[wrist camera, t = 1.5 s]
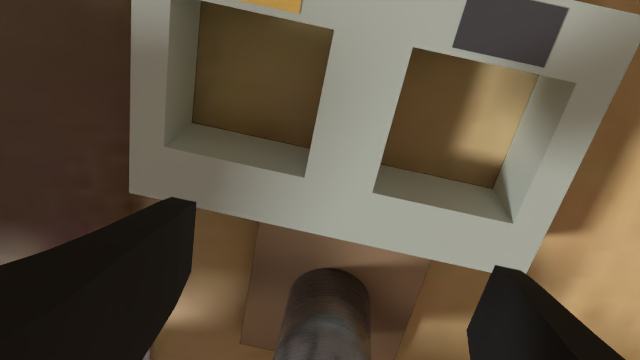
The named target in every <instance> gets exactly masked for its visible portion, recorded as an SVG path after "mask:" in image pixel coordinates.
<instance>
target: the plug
mask: <svg viewBox="0 0 640 360" xmlns="http://www.w3.org/2000/svg"><path fill="white" fill-rule="evenodd" d="M273 360H371V311H370V296H369V293H368V291H367V289H366V287H365V286H364V284H363V283H362V282H361V281H360V280H359V279H358V278H356V277H355V276H354V275H352V274H350V273H348V272H346V271H343V270H339V269H335V268H319V269H314V270H311V271H308V272H306V273H304V274H303V275H301V276H300V277H299V278H298V279H297V280H296V281H295V282H294V283H293V285H292V287H291V289H290V292H289V296H288V300H287V304H286V308H285V313H284V317H283V321H282V325H281V329H280V333H279V337H278V342H277V346H276V350H275V354H274V358H273Z"/></svg>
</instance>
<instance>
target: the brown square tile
mask: <svg viewBox="0 0 640 360" xmlns="http://www.w3.org/2000/svg"><path fill="white" fill-rule="evenodd" d="M430 262H431V259H426V258H422V257H417V256H413V255H408V254H404V253H399V252H395V251H390V250H386V249H381V248H376V247H372V246H367V245H363V244H358V243H354V242H349V241H345V240H340V239H336V238H331V237H327V236H322V235H318V234H313V233H309V232H304V231H299V230H295V229H290V228H286V227H281V226H277V225H272V224H268V223H263V222H259V227H258V233H257V239H256V245H255V252H254V258H253V264H252V270H251V277H250V283H249V289H248V295H247V301H246V308H245V314H244V320H243V326H242V332H241V339H240V344H244V345H249V346H253V347H258V348H262V349H267V350H271V351H275V350H276V346H277V342H278V337H279V333H280V329H281V325H282V321H283V317H284V313H285V308H286V304H287V300H288V296H289V292H290V289H291V287H292V285H293V283H294V282H295V281H296V280H297V279H298V278H299V277H300V276H301V275H303V274H304V273H306V272H308V271H311V270H314V269H319V268H335V269H339V270H343V271H346V272H348V273H350V274H352V275H354V276H355V277H356V278H358V279H359V280H360V281H361V282H362V283H363V284H364V286H365V287H366V289H367V291H368V293H369V296H370V311H371V360H394V359H395V356H396V353H397V351H398V348H399V345H400V343H401V340H402V337H403V335H404V332H405V329H406V327H407V324H408V321H409V318H410V316H411V313H412V310H413V308H414V305H415V302H416V300H417V297H418V294H419V292H420V289H421V286H422V284H423V281H424V278H425V276H426V273H427V270H428V267H429V265H430Z"/></svg>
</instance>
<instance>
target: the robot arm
mask: <svg viewBox="0 0 640 360" xmlns="http://www.w3.org/2000/svg"><path fill="white" fill-rule="evenodd" d="M196 203H197V202H194V201H190V200H185V199H180V198H175V197H169V198H167V199H164V200H162V201H160V202H157V203H155V204H153V205H151V206H149V207H147V208H145V209H142V210H140V211H138V212H136V213H134V214H132V215H130V216H128V217H125V218H123V219H121V220H119V221H117V222H115V223H112V224H110V225H108V226H106V227H104V228H101V229H99V230H96V231H94V232H92V233H89V234H87V235H84V236H82V237H79V238H77V239H74V240H72V241H70V242H67V243H65V244H62V245H60V246H57V247H54V248H52V249H49V250H46V251H43V252H40V253H38V254H35V255H32V256H29V257H25V258H22V259H19V260H16V261H13V262H10V263H7V264H3V265H0V360H150V347H151V345H152V344H153V342H154V341H155V339H156V337H157V336H158V334H159V333H160V331H161V329H162V328H163V326H164V324H165V323H166V321H167V320H168V318H169V316H170V315H171V313H172V311H173V310H174V308H175V306H176V304H177V302H178V300H179V298H180V295H181V293H182V291H183V289H184V287H185V284H186V282H187V280H188V277H189V275H190V273H191V266H192V253H193V241H194V228H195V216H196ZM467 336H468V345H469V353H470V360H625V359H624V358H623V357H622V356H620V355H619V354H618V353H617V352H616V351H614V350H613V349H612V348H611V347H610V346H608V345H607V344H606V343H605V342H604V341H602V340H601V339H600V338H599V337H598V336H597V335H595V334H594V333H593V332H592V331H591V330H590V329H589V328H587V327H586V326H585V325H584V324H583V323H582V322H581V321H579V320H578V319H577V318H576V317H575V316H574V315H573V314H572V313H570V312H569V311H568V310H567V309H566V308H565V307H564V306H563V305H562V304H560V303H559V302H558V301H557V300H556V299H555V298H554V297H553V296H551V295H550V294H549V293H548V292H547V291H546V290H545V289H543V288H542V287H541V286H540V285H539V284H538V283H536V282H535V281H534V280H533V279H532V278H530V277H529V276H528V275H526V274H525V273H524V272H522V271H521V270H517V269H512V268H507V267H503V266H498V265H495V266H494V269H493V271H492V273H491V275H490V278H489V280H488V282H487V285H486V287H485V289H484V292H483V294H482V296H481V298H480V301H479V303H478V305H477V308H476V310H475V312H474V314H473V317H472V319H471V321H470V324H469V326H468V328H467Z"/></svg>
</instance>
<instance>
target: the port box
mask: <svg viewBox="0 0 640 360" xmlns="http://www.w3.org/2000/svg"><path fill="white" fill-rule="evenodd" d="M201 1H206V2H210V3H215V4H219V5H224V6H229V7H233V8H238V9H242V10H247V11H251V12H256V13H260V14H265V15H269V16H274V17H279V18H283V19H288V20H292V21H297V22H301V23H306V24H310V25H315V26H319V27H324V28H329V29H333V30H334V34H333V39H332V44H331V49H330V53H329V58H328V63H327V68H326V73H325V78H324V83H323V88H322V93H321V98H320V103H319V108H318V113H317V118H316V123H315V128H314V133H313V138H312V143H311V147H310V149H309V148H304V147H299V146H295V145H290V144H286V143H281V142H277V141H272V140H268V139H263V138H259V137H254V136H250V135H245V134H240V133H236V132H231V131H227V130H222V129H218V128H213V127H209V126H204V125H200V124H195V123H192V114H193V101H194V88H195V74H196V61H197V48H198V35H199V22H200V9H201ZM639 44H640V15H639V14H634V13H629V12H625V11H620V10H616V9H611V8H607V7H602V6H598V5H593V4H589V3H584V2H579V1H575V0H131V74H130V152H129V193H132V194H136V195H141V196H145V197H150V198H154V199H159V200H164V199H167V198H169V197H175V198H180V199H185V200H190V201H194V202H197V203H196V208H200V209H204V210H209V211H213V212H218V213H222V214H227V215H231V216H236V217H241V218H245V219H250V220H254V221H259V222H263V223H268V224H272V225H277V226H281V227H286V228H290V229H295V230H299V231H304V232H309V233H313V234H318V235H322V236H327V237H331V238H336V239H340V240H345V241H349V242H354V243H358V244H363V245H367V246H372V247H376V248H381V249H386V250H390V251H395V252H399V253H404V254H408V255H413V256H417V257H422V258H426V259H431V260H435V261H440V262H444V263H449V264H454V265H458V266H463V267H467V268H472V269H476V270H481V271H485V272H490V273H492V271H493V269H494V266H495V265H498V266H503V267H507V268H512V269H517V270H521V271H522V272H524V273H525V274H526V273H527V271H528V269H529V267H530V265H531V263H532V261H533V259H534V257H535V255H536V253H537V251H538V249H539V247H540V245H541V243H542V241H543V239H544V237H545V235H546V233H547V231H548V229H549V227H550V225H551V223H552V221H553V219H554V217H555V215H556V213H557V211H558V209H559V207H560V204H561V202H562V200H563V198H564V196H565V194H566V192H567V190H568V188H569V186H570V184H571V182H572V180H573V178H574V176H575V174H576V172H577V170H578V168H579V166H580V164H581V162H582V160H583V158H584V156H585V154H586V152H587V150H588V148H589V146H590V144H591V142H592V140H593V138H594V136H595V134H596V132H597V129H598V127H599V125H600V123H601V121H602V119H603V117H604V115H605V113H606V111H607V109H608V107H609V105H610V103H611V101H612V99H613V97H614V95H615V93H616V91H617V89H618V87H619V85H620V83H621V81H622V79H623V77H624V75H625V73H626V71H627V69H628V67H629V65H630V63H631V61H632V59H633V57H634V55H635V52H636V50H637V48H638V46H639ZM413 47H415V48H420V49H424V50H429V51H433V52H438V53H442V54H447V55H451V56H456V57H460V58H465V59H470V60H474V61H479V62H483V63H488V64H492V65H497V66H501V67H506V68H511V69H515V70H520V71H524V72H529V73H533V74H538V75H539V77H538V80H537V82H536V85H535V87H534V90H533V92H532V94H531V97H530V99H529V102H528V104H527V107H526V109H525V112H524V114H523V116H522V119H521V121H520V124H519V126H518V129H517V131H516V133H515V136H514V138H513V141H512V143H511V146H510V148H509V150H508V153H507V155H506V158H505V160H504V163H503V165H502V168H501V170H500V172H499V175H498V177H497V180H496V182H495V185H494V187H493V189H490V188H486V187H481V186H477V185H472V184H467V183H463V182H458V181H454V180H449V179H445V178H440V177H436V176H431V175H427V174H422V173H418V172H413V171H408V170H404V169H399V168H395V167H390V166H386V165H381V164H380V163H381V160H382V156H383V153H384V149H385V145H386V142H387V138H388V135H389V131H390V128H391V124H392V120H393V117H394V113H395V110H396V106H397V103H398V99H399V95H400V92H401V88H402V85H403V81H404V78H405V74H406V70H407V67H408V63H409V60H410V56H411V53H412V49H413Z"/></svg>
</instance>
